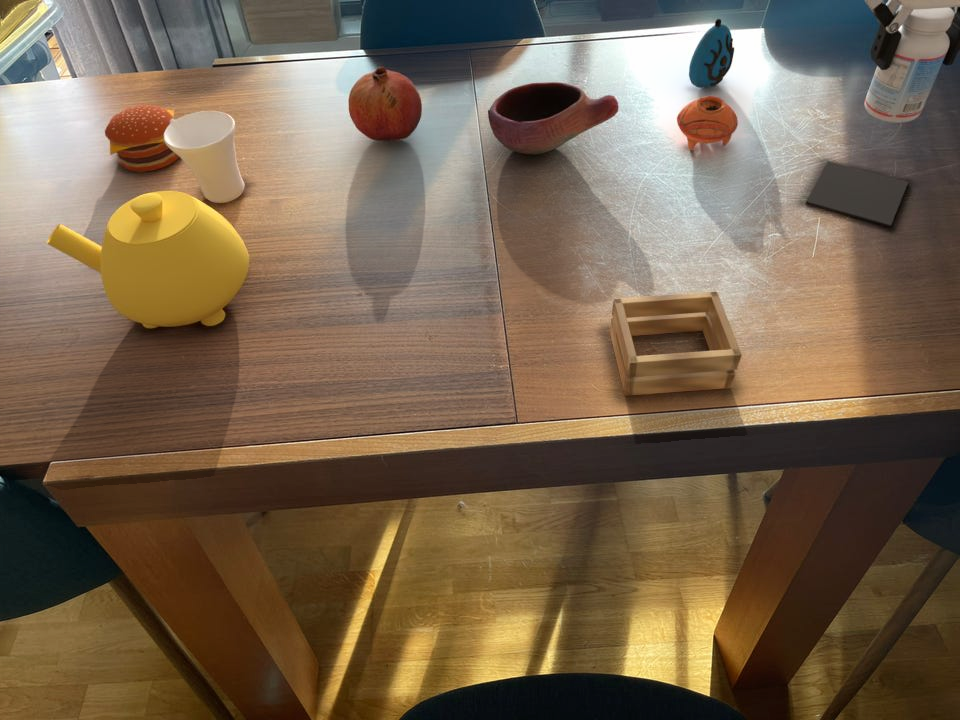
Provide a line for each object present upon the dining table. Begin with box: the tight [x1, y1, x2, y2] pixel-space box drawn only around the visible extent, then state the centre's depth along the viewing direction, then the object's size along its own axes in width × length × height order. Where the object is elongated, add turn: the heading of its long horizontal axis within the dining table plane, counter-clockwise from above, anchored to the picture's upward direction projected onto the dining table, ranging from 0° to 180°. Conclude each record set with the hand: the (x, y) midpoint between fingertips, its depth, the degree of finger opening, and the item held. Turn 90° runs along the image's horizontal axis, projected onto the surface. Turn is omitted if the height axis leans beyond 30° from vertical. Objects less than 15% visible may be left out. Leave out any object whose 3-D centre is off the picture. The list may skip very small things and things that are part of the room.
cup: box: [164, 110, 246, 204], centre depth 96 cm, size 9×9×10 cm
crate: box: [609, 290, 743, 397], centre depth 74 cm, size 11×9×5 cm
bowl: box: [487, 81, 620, 155], centre depth 101 cm, size 16×13×8 cm
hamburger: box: [104, 104, 180, 173], centre depth 104 cm, size 9×10×7 cm
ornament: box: [688, 18, 735, 89], centre depth 108 cm, size 8×5×10 cm, turn 132°
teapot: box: [46, 190, 250, 329], centre depth 81 cm, size 20×16×14 cm
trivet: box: [805, 160, 909, 228], centre depth 93 cm, size 10×10×1 cm
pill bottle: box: [864, 7, 955, 124], centre depth 80 cm, size 6×6×11 cm
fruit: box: [348, 66, 423, 142], centre depth 103 cm, size 11×10×10 cm
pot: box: [676, 95, 739, 150], centre depth 100 cm, size 8×8×7 cm
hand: (910, 60), depth 80 cm, fingers closed on pill bottle, 6 cm apart
